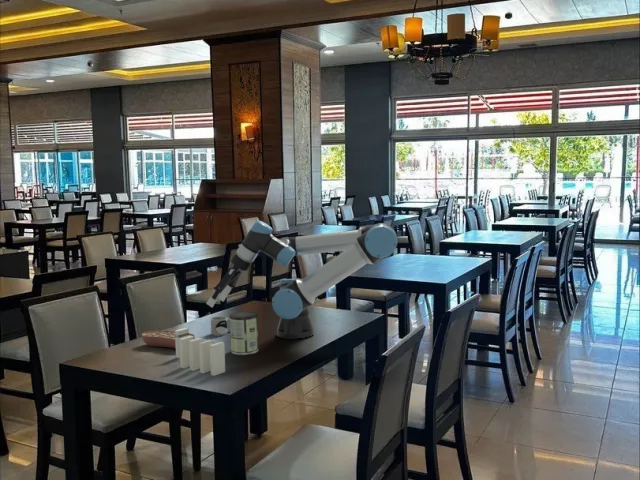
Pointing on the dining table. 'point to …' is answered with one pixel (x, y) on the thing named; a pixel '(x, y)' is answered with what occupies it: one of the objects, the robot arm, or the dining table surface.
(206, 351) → the domino
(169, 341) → the brown low oblong piece
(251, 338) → the coffee can
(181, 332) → the domino
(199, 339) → the domino
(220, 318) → the mug
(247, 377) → the dining table surface
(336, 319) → the dining table surface
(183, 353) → the domino
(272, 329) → the dining table surface
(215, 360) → the domino
